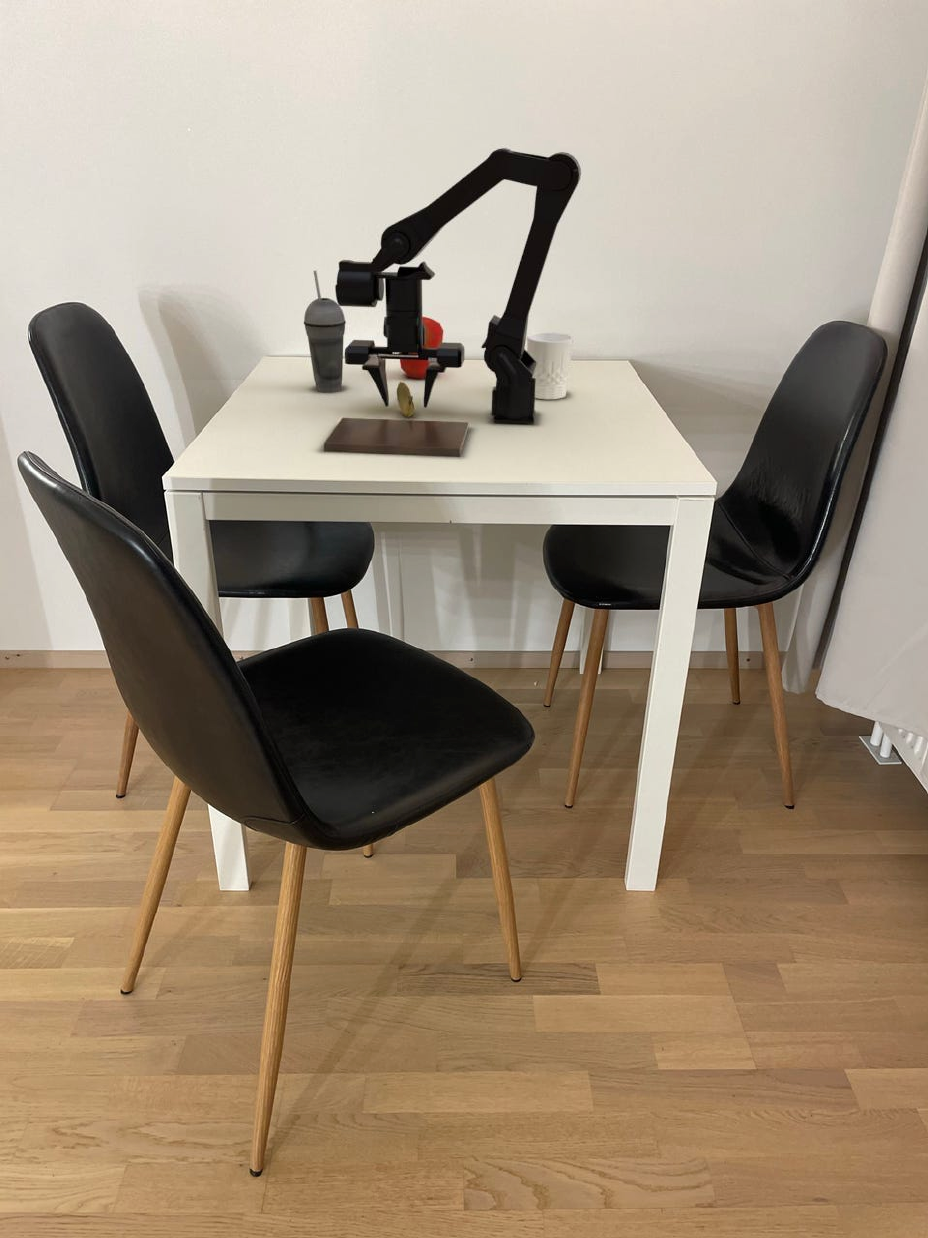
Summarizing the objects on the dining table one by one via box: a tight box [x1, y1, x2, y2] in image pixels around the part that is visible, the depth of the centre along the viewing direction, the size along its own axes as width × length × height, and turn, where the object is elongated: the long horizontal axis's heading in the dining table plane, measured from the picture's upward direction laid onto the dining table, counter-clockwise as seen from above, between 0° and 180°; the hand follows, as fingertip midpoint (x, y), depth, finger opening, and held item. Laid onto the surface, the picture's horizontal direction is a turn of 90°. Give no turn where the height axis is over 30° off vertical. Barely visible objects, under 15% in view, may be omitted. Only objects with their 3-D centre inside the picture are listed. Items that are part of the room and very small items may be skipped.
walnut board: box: [323, 417, 469, 457], centre depth 140 cm, size 20×13×1 cm, turn 85°
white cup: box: [526, 331, 574, 400], centre depth 161 cm, size 8×8×10 cm
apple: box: [399, 316, 444, 379], centre depth 171 cm, size 9×8×12 cm
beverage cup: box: [303, 270, 347, 393], centre depth 161 cm, size 7×7×20 cm
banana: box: [396, 381, 415, 418], centre depth 152 cm, size 10×2×4 cm, turn 11°
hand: (406, 406), depth 152 cm, fingers open, 6 cm apart
